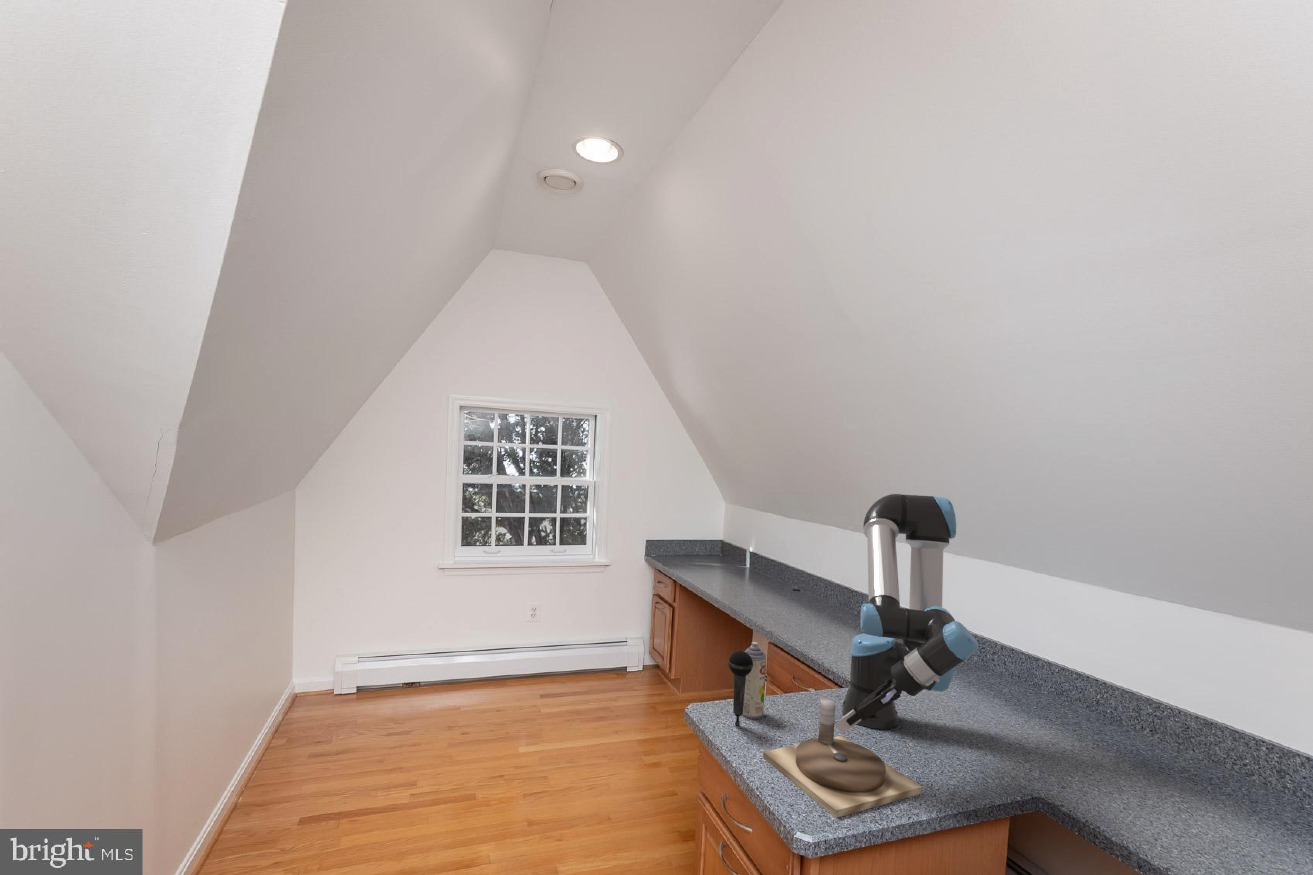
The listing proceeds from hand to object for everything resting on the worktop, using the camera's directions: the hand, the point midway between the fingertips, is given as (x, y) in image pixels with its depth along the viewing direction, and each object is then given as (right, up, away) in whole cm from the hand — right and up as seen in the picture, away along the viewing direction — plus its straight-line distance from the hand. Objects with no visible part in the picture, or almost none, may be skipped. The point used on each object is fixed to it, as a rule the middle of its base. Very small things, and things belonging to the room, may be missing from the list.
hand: (839, 728), depth 145 cm
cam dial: (-2, -6, -6) cm, 9 cm away
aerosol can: (-18, -8, +24) cm, 31 cm away
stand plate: (-2, -8, -6) cm, 10 cm away
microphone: (-23, -7, +16) cm, 29 cm away
